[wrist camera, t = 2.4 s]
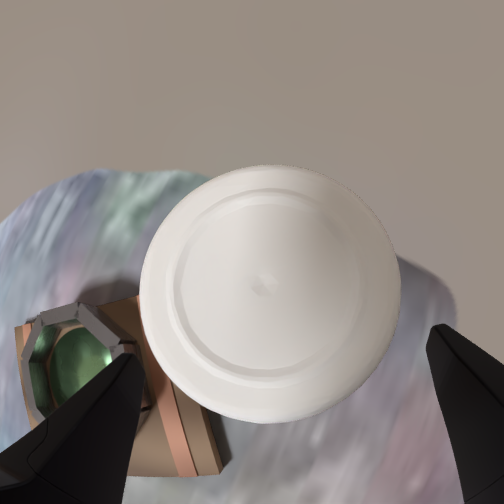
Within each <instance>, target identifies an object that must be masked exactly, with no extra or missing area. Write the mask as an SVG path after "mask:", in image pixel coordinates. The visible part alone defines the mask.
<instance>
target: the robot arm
mask: <svg viewBox="0 0 504 504" xmlns="http://www.w3.org/2000/svg"><path fill="white" fill-rule="evenodd" d="M426 353H427V357H428V361H429V365H430V369H431V373H432V378H433V382H434V387H435V391H436V395H437V398H438V401H439V405H440V408H441V411H442V414H443V417H444V421H445V424H446V427H447V431H448V434H449V438H450V442H451V445H452V449H453V453H454V457H455V461H456V465H457V469H458V474H459V478H460V483H461V488H462V493H463V499H464V502H465V503H464V504H504V365H503V364H502V363H500V362H499V361H498V360H496V359H495V358H494V357H492V356H491V355H489V354H488V353H487V352H485V351H484V350H482V349H481V348H479V347H478V346H477V345H475V344H474V343H472V342H471V341H470V340H468V339H467V338H465V337H464V336H462V335H461V334H459V333H458V332H457V331H455V330H454V329H452V328H451V327H449V326H448V325H446V324H439V325H434V326H433V327H432V328H431V330H430V334H429V337H428V341H427V344H426ZM144 382H145V371H144V368H143V366H142V365H141V363H140V361H139V359H138V358H137V356H136V354H134V353H126V352H124V353H121V354H120V355H119V356H118V357H116V358H115V359H114V360H113V361H112V362H111V363H109V364H108V365H107V366H106V367H105V368H104V369H102V370H101V371H100V372H99V373H98V374H97V375H95V376H94V377H93V378H92V379H91V380H90V381H89V382H87V383H86V384H85V385H84V386H83V387H82V388H80V389H79V390H78V391H77V392H76V393H75V394H73V395H72V396H71V397H70V398H69V399H68V400H66V401H65V402H64V403H63V404H62V405H61V406H59V407H58V408H57V409H56V410H55V411H54V412H53V413H51V414H50V415H49V417H47V418H46V419H44V420H43V421H42V422H41V423H40V424H39V425H37V426H36V427H35V428H34V429H33V430H31V431H30V432H29V433H27V434H26V435H25V436H23V437H22V438H21V439H19V440H18V441H17V442H15V443H14V444H12V445H11V446H10V447H8V448H7V449H5V450H4V451H3V452H1V453H0V504H122V499H123V493H124V488H125V482H126V477H127V472H128V467H129V462H130V458H131V453H132V448H133V444H134V439H135V435H136V431H137V426H138V422H139V417H140V411H141V404H142V396H143V389H144Z"/></svg>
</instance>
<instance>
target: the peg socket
mask: <svg viewBox="0 0 504 504" xmlns="http://www.w3.org/2000/svg"><path fill="white" fill-rule="evenodd" d="M78 325H83V326H84V327H85V328H76V329H73V330H71V331H69V332H67V333H66V334H64V335H63V336H62V337H61V338H60V339H59V341H58V342H57V344H56V346H55V348H54V350H53V353H52V356H51V360H50V370H49V373H50V382H49V377H48V371H47V364H46V363H47V360H48V358H49V356H50V354H51V351H52V349H53V347H54V345H55V343H56V340H57V338H58V336H59V334H60V332H61V330H62V329H64V328H69V327H73V326H78ZM136 342H137V340H136V339H135V338H133V337H132V336H131V335H130V334H129V333H127V332H126V331H125V330H124V329H123V328H121V327H120V326H119V325H118V324H117V323H115V322H114V321H113V320H112V319H111V318H110V317H109V316H107V315H106V314H105V313H104V312H103V311H102V310H101V309H100V308H98V307H94V306H90V305H87V304H83V303H79V302H76V303H72V304H68V305H65V306H61V307H58V308H54V309H51V310H47V311H43V312H40V315H38V316H37V318H36V320H35V322H34V325H33V327H32V329H31V332H30V334H29V337H28V339H27V341H26V344H25V346H24V349H23V351H22V354H21V357H22V358H23V360H20V361H21V368H22V375H23V381H24V386H25V392H26V397H27V402H28V406H29V411H32V414H31V415H32V416H33V417H34V419H35V420H36V421H37V422H38V424H40V423H41V422H42V421H43V420H44V419H46V418H47V417H49V415H50V414H51V413H53V412H54V411H55V410H56V409H57V408H56V407H55V406H54V402H53V397H52V393H51V388H52V392H53V395H54V398H55V400H56V402H57V404H58V406H61V405H62V404H63V403H64V402H65V401H66V400H68V399H69V398H70V397H71V396H72V395H73V394H75V393H76V392H77V391H78V390H79V389H80V388H82V387H83V386H84V385H85V384H86V383H87V382H89V381H90V380H91V379H92V378H93V377H94V376H95V375H97V374H98V373H99V372H100V371H101V370H102V369H104V368H105V367H106V366H107V365H108V364H109V363H111V362H112V361H113V360H114V359H115V358H116V357H118V356H119V355H120V354H121V353H124V352H126V353H134V354H136V356H137V358H138V359H139V361H140V363H141V365H142V366H143V368H144V364H143V359H142V354H141V349H140V345H135V344H136ZM144 371H145V368H144ZM50 383H51V388H50ZM152 404H153V403H152V399H151V395H150V391H149V386H148V382H147V378H146V373H145V382H144V389H143V396H142V404H141V411H140V417H139V422H138V426H137V431H136V435H137V433H138V432H139V430H140V428H141V427H142V425H143V423H144V422H145V420H146V418H147V417H148V415H149V413H150V412H151V410H152V408H151V407H149V405H152ZM136 435H135V437H136Z"/></svg>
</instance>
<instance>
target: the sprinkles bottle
mask: <svg viewBox="0 0 504 504" xmlns="http://www.w3.org/2000/svg"><path fill="white" fill-rule="evenodd" d="M139 299H140V311H141V318H142V323H143V327H144V331H145V335H146V338H147V340H148V343H149V345H150V348H151V350H152V352H153V354H154V356H155V358H156V360H157V361H158V363H159V364H160V366H161V368H162V369H163V371H164V372H165V373H166V374H167V376H168V377H169V378H170V379H171V380H172V381H173V382H174V383H175V384H176V385H177V386H178V387H179V388H180V389H181V390H182V391H183V392H184V393H185V394H186V395H188V396H189V397H190V398H192V399H193V400H195V401H196V402H197V403H199V404H200V405H202V406H204V407H206V408H208V409H210V410H212V411H214V412H217V413H219V414H221V415H224V416H226V417H230V418H233V419H238V420H242V421H247V422H253V423H262V424H269V423H284V422H292V421H296V420H300V419H305V418H308V417H311V416H314V415H316V414H319V413H321V412H323V411H325V410H327V409H329V408H331V407H333V406H334V405H336V404H338V403H339V402H341V401H343V400H344V399H346V398H347V397H349V396H350V395H351V394H352V393H353V392H355V391H356V390H357V389H358V388H359V387H360V386H362V385H363V383H364V382H365V381H366V380H367V379H368V378H369V377H370V375H371V374H372V373H373V372H374V370H375V369H376V368H377V366H378V365H379V363H380V362H381V360H382V358H383V357H384V355H385V353H386V352H387V350H388V347H389V345H390V343H391V341H392V338H393V336H394V333H395V330H396V326H397V322H398V318H399V313H400V301H401V277H400V272H399V266H398V262H397V258H396V255H395V252H394V249H393V246H392V243H391V241H390V239H389V237H388V235H387V233H386V231H385V229H384V227H383V226H382V224H381V223H380V221H379V219H378V218H377V217H376V215H375V214H374V213H373V211H372V210H371V209H370V208H369V207H368V206H367V205H366V204H365V203H364V202H363V201H362V200H361V199H360V198H359V197H358V196H357V195H356V194H355V193H353V192H352V191H351V190H349V189H348V188H346V187H345V186H343V185H342V184H340V183H339V182H337V181H335V180H333V179H331V178H329V177H327V176H325V175H323V174H320V173H317V172H314V171H312V170H309V169H305V168H301V167H294V166H287V165H274V164H271V165H256V166H250V167H245V168H240V169H237V170H233V171H230V172H227V173H225V174H222V175H219V176H217V177H215V178H213V179H211V180H209V181H207V182H206V183H204V184H202V185H201V186H199V187H198V188H196V189H195V190H193V191H192V192H191V193H189V194H188V195H187V196H186V197H185V198H183V199H182V200H181V201H180V202H179V203H178V204H177V205H176V206H175V207H174V208H173V209H172V211H171V212H170V213H169V214H168V216H167V217H166V218H165V220H164V221H163V222H162V224H161V225H160V227H159V228H158V230H157V232H156V234H155V236H154V238H153V240H152V242H151V244H150V246H149V249H148V251H147V254H146V257H145V261H144V264H143V268H142V273H141V280H140V292H139Z"/></svg>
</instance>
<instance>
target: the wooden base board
mask: <svg viewBox="0 0 504 504" xmlns="http://www.w3.org/2000/svg"><path fill="white" fill-rule="evenodd" d="M96 307H98V308H100V309H101V310H102V311H103V312H104V313H105V314H106V315H107V316H109V317H110V318H111V319H112V320H113V321H114V322H115V323H117V324H118V325H119V326H120V327H121V328H123V329H124V330H125V331H126V332H127V333H129V334H130V335H131V336H132V337H133V338H135V339H136V340H137V342H136V344H135V345H140V349H141V354H142V359H143V364H144V368H145V373H146V378H147V382H148V386H149V391H150V395H151V399H152V403H153V404H152V405H149V407H151V408H152V410H151V412H150V413H149V415H148V417H147V418H146V420H145V422H144V423H143V425H142V427H141V428H140V430H139V432H138V433H137V435H136V437H135V439H134V444H133V448H132V453H131V458H130V462H129V467H128V472H127V476H142V477H197V476H205V475H218V474H220V473H221V472H222V470H223V469H224V468H223V465H222V462H221V459H220V455H219V452H218V449H217V445H216V442H215V439H214V435H213V432H212V428H211V425H210V421H209V417H208V414H207V410H206V407H204V406H202V405H200V404H199V403H197V402H196V401H195V400H193V399H192V398H190V397H189V396H188V395H186V394H185V393H184V392H183V391H182V390H181V389H180V388H179V387H178V386H177V385H176V384H175V383H174V382H173V381H172V380H171V379H170V378H169V377H168V376H167V374H166V373H165V372H164V371H163V369H162V368H161V366H160V364H159V363H158V361H157V360H156V358H155V356H154V354H153V352H152V350H151V348H150V345H149V343H148V340H147V338H146V335H145V331H144V327H143V323H142V318H141V311H140V299H139V295H137V296H134V297H130V298H127V299H123V300H119V301H115V302H112V303H108V304H104V305H100V306H96ZM33 325H34V323H29V324H25V325H22V326H18V327H15V340H16V349H17V358H18V365H19V372H20V379H21V384H22V390H23V395H24V400H25V405H26V409H27V414H28V418H29V422H30V426H31V430H33V429H34V428H35V427H36V426H37V425H39V424H38V422H37V421H36V420H35V419H34V417H33V416H32V415H31V414H32V411H29V406H28V402H27V397H26V392H25V386H24V381H23V375H22V368H21V361H20V360H23V358H22V357H21V354H22V351H23V349H24V346H25V344H26V341H27V339H28V337H29V334H30V332H31V329H32V327H33ZM76 328H85V327H84V326H83V325H78V326H73V327H69V328H64V329H62V330H61V332H60V334H59V336H58V338H57V340H56V343H55V345H54V347H53V349H52V351H51V354H50V356H49V358H48V360H47V363H46V364H47V371H48V377H49V382H50V373H49V370H50V360H51V356H52V353H53V350H54V348H55V346H56V344H57V342H58V341H59V339H60V338H61V337H62V336H63V335H64V334H66V333H67V332H69V331H71V330H73V329H76ZM50 388H51V383H50ZM51 393H52V397H53V402H54V406H55V407H56V408H58V407H59V406H58V404H57V402H56V400H55V398H54V395H53V392H52V388H51Z"/></svg>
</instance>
